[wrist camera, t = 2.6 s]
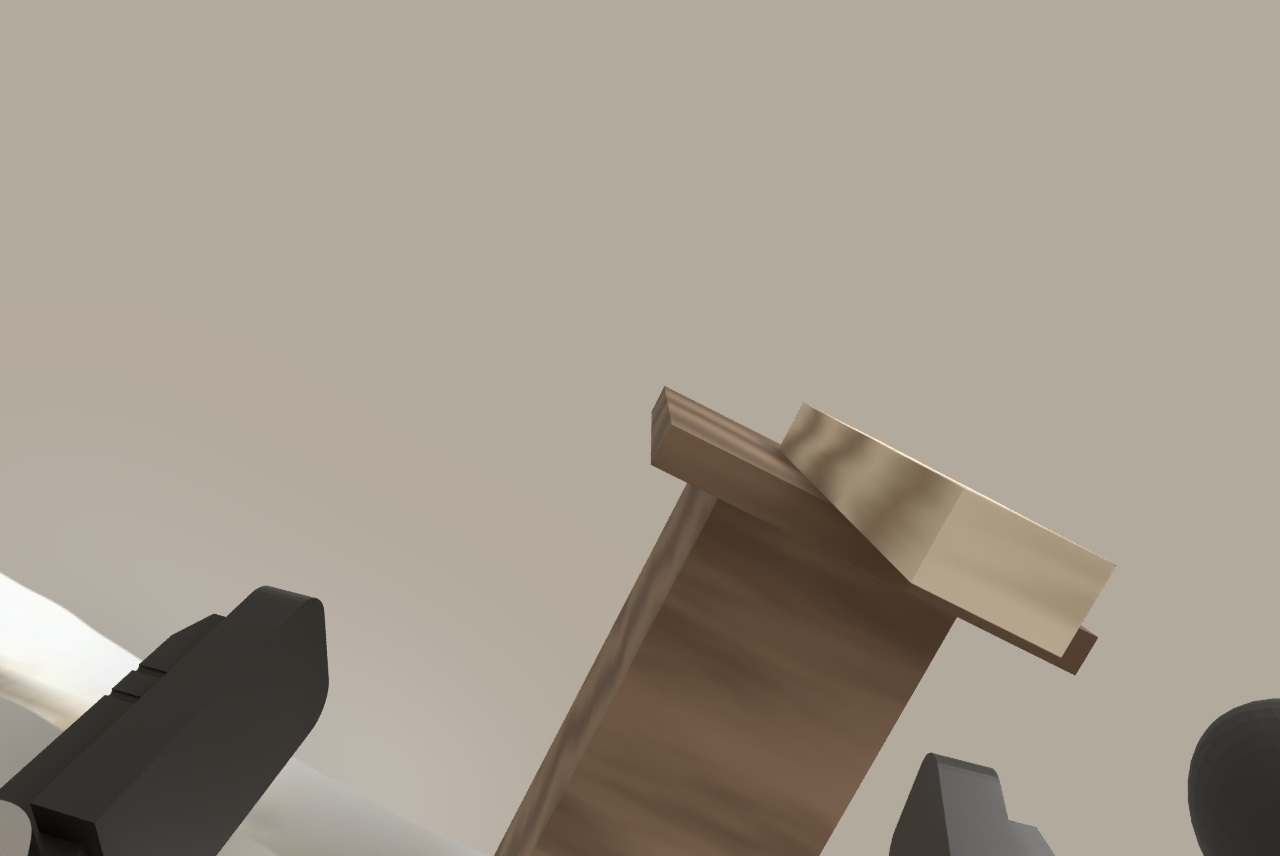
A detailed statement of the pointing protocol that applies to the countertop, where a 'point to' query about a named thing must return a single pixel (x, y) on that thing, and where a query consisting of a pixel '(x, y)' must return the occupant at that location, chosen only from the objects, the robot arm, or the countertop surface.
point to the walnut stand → (739, 667)
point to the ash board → (950, 534)
